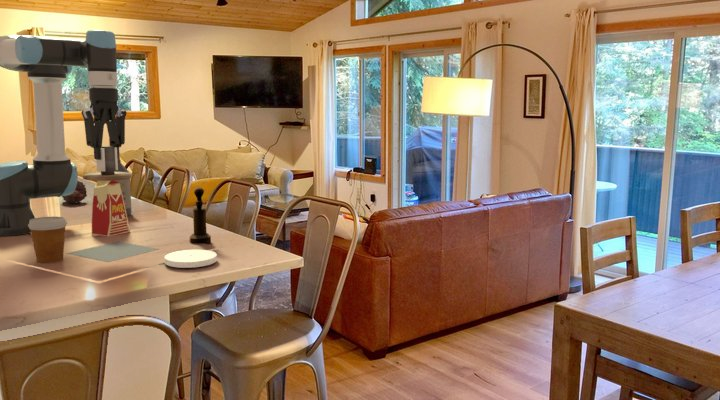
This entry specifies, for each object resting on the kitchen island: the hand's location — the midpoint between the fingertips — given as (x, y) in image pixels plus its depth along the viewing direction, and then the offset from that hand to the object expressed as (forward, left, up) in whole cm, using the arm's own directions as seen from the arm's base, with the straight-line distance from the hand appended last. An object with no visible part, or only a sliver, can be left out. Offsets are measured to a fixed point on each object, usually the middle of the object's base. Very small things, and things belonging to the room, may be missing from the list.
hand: (107, 170), depth 173 cm
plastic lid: (+27, +4, -25) cm, 37 cm away
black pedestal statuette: (+12, +23, -25) cm, 36 cm away
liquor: (-49, +41, -25) cm, 69 cm away
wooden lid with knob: (0, 0, -2) cm, 2 cm away
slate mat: (0, 0, -24) cm, 24 cm away
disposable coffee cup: (-6, -16, -25) cm, 30 cm away
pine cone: (-87, +49, -25) cm, 103 cm away
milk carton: (-22, +16, -25) cm, 37 cm away
